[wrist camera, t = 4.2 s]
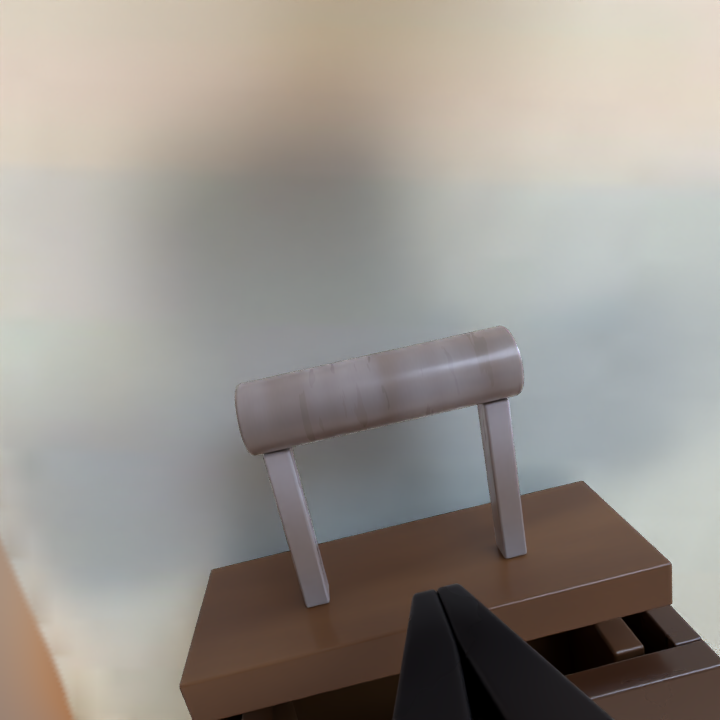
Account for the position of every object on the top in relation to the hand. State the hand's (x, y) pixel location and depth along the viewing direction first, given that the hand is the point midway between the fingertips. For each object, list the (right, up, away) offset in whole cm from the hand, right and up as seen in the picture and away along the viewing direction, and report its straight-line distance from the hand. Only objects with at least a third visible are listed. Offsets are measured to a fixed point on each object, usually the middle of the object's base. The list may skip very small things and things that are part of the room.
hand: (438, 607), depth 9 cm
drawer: (+1, -5, +7) cm, 9 cm away
